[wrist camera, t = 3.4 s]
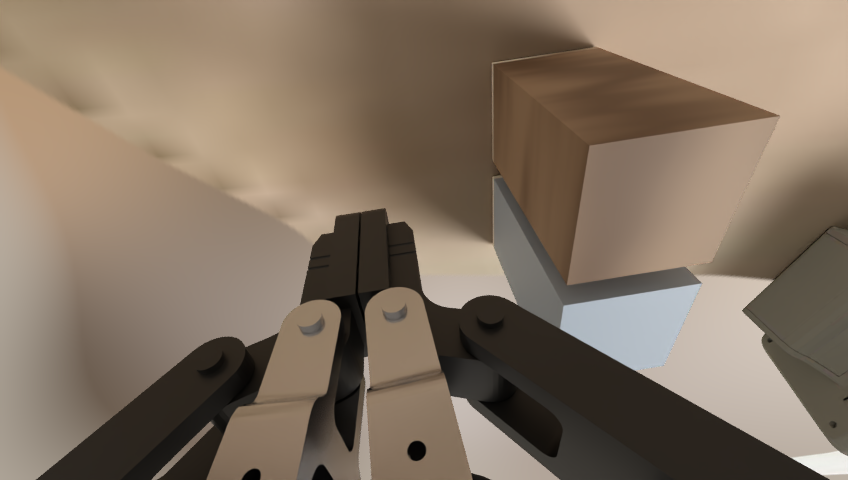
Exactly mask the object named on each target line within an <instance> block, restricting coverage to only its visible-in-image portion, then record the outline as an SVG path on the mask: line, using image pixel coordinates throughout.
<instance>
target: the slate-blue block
mask: <svg viewBox="0 0 848 480" xmlns="http://www.w3.org/2000/svg"><path fill="white" fill-rule="evenodd" d="M492 186H493V247H494V249H495V251H496V254H497V256H498V259H499V261H500V263H501V266H502V268H503V271H504V273H505V275H506V278H507V280H508V282H509V285H510V287H511V290H512V292H513V294H514V297H515V299H516V301H517V304H518V306H520V307H522V308H524V309H525V310H527V311H529V312H531V313H533V314H534V315H536V316H538V317H540V318H542V319H543V320H545V321H547V322H549V323H550V324H552V325H554V326H556V327H558V328H559V329H561V330H563V331H565V332H567V333H568V334H570V335H572V336H574V337H576V338H577V339H579V340H581V341H583V342H584V343H586V344H588V345H590V346H592V347H593V348H595V349H597V350H599V351H601V352H602V353H604V354H606V355H608V356H609V357H611V358H613V359H615V360H617V361H618V362H620V363H622V364H624V365H626V366H627V367H629V368H631V369H633V370H641V369H647V368H653V367H659V366H664V364H665V362H666V360H667V358H668V355H669V353H670V351H671V349H672V347H673V345H674V342H675V340H676V338H677V336H678V334H679V332H680V330H681V327H682V325H683V323H684V321H685V319H686V317H687V315H688V313H689V310H690V308H691V306H692V304H693V302H694V299H695V298H696V295H697V293H698V291H699V289H700V287H701V285H702V283H701V282H700V281H699V280H698V279H697V278H696V277H695V276H694V275H693V274H692V273H691V272H690V271H689V270H688V269H687V268H686V267H679V268H673V269H667V270H660V271H654V272H648V273H642V274H635V275H629V276H623V277H617V278H610V279H604V280H598V281H592V282H586V283H579V284H573V285H566V283H565V281H564V280H563V278H562V276H561V275H560V273H559V271H558V270H557V268H556V266H555V265H554V263H553V261H552V260H551V258H550V256H549V255H548V253H547V251H546V250H545V248H544V246H543V245H542V243H541V241H540V239H539V238H538V236H537V234H536V233H535V231H534V229H533V228H532V226H531V224H530V223H529V221H528V219H527V218H526V216H525V214H524V213H523V211H522V209H521V208H520V206H519V204H518V202H517V201H516V199H515V197H514V196H513V194H512V192H511V191H510V189H509V187H508V186H507V184H506V182H505V181H504V179H503V177H502V176H501V175H498V176H492Z"/></svg>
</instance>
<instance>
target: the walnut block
mask: <svg viewBox="0 0 848 480" xmlns="http://www.w3.org/2000/svg"><path fill="white" fill-rule="evenodd" d="M779 118H780V116H779V115H776V114H774V113H771V112H768V111H766V110H763V109H760V108H758V107H755V106H752V105H750V104H747V103H744V102H742V101H739V100H736V99H734V98H731V97H728V96H726V95H723V94H720V93H718V92H715V91H712V90H710V89H707V88H704V87H702V86H699V85H696V84H694V83H691V82H688V81H686V80H683V79H680V78H678V77H675V76H672V75H670V74H667V73H664V72H662V71H659V70H656V69H654V68H651V67H648V66H646V65H643V64H640V63H638V62H635V61H632V60H630V59H627V58H624V57H622V56H619V55H616V54H614V53H611V52H609V51H606V50H603V49H601V48H598V47H591V48H585V49H578V50H572V51H565V52H558V53H552V54H545V55H539V56H532V57H526V58H519V59H512V60H506V61H499V62H493V63H492V160H493V162H494V164H495V166H496V167H497V169H498V171H499V172H500V174H501V176H502V177H503V179H504V181H505V182H506V184H507V186H508V187H509V189H510V191H511V192H512V194H513V196H514V197H515V199H516V201H517V202H518V204H519V206H520V208H521V209H522V211H523V213H524V214H525V216H526V218H527V219H528V221H529V223H530V224H531V226H532V228H533V229H534V231H535V233H536V234H537V236H538V238H539V239H540V241H541V243H542V245H543V246H544V248H545V250H546V251H547V253H548V255H549V256H550V258H551V260H552V261H553V263H554V265H555V266H556V268H557V270H558V271H559V273H560V275H561V276H562V278H563V280H564V281H565V283H566V285H573V284H579V283H586V282H592V281H598V280H604V279H610V278H617V277H623V276H629V275H635V274H642V273H648V272H654V271H660V270H667V269H673V268H679V267H685V266H691V265H698V264H704V263H710V262H712V261H713V259H714V257H715V255H716V252H717V250H718V248H719V246H720V244H721V242H722V240H723V237H724V235H725V233H726V231H727V229H728V227H729V225H730V222H731V220H732V218H733V216H734V214H735V212H736V210H737V207H738V205H739V203H740V201H741V199H742V197H743V195H744V192H745V190H746V188H747V186H748V184H749V182H750V180H751V178H752V175H753V173H754V171H755V169H756V167H757V165H758V163H759V160H760V158H761V156H762V154H763V152H764V150H765V148H766V145H767V143H768V141H769V139H770V137H771V135H772V133H773V130H774V128H775V126H776V124H777V122H778V120H779Z"/></svg>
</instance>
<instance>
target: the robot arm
mask: <svg viewBox="0 0 848 480" xmlns="http://www.w3.org/2000/svg"><path fill="white" fill-rule="evenodd" d="M367 356H368V360H369V371H370V372H369V373H370V388H369V389H367V396H366V398H367V415H368V431H369V446H370V460H371V476H372V480H490V479H488V478H486V477H483V476H480V475H476V474H473V473H471V471H470V468H469V464H468V460H467V456H466V453H465V449H464V445H463V442H462V438H461V434H460V430H459V426H458V423H457V419H456V415H455V412H454V408H453V404H452V400H451V396H454V397H460V398H466V399H467V400H468V402H469V403H470V405H471V406H472V407H473V408H475V409H476V410H477V411H478V412H479V413H481V414H482V415H483V416H484V417H485V418H487V419H488V420H489V421H490V422H492V423H493V424H494V425H495V426H496V427H497V428H499V429H500V430H501V431H502V432H503V433H505V434H506V435H507V436H508V437H509V438H511V439H512V440H513V441H514V442H515V443H517V444H518V445H519V446H520V447H521V448H523V449H524V450H525V451H526V452H528V453H529V454H530V455H531V456H532V457H534V458H535V459H536V460H537V461H538V462H540V463H541V464H542V465H543V466H544V467H546V468H547V469H548V470H549V471H550V472H552V473H553V474H554V475H555V476H556V477H558V478H559V479H560V480H829V479H828V478H826V477H824V476H822V475H820V474H819V473H817V472H815V471H813V470H812V469H810V468H808V467H806V466H804V465H803V464H801V463H799V462H797V461H795V460H794V459H792V458H790V457H788V456H787V455H785V454H783V453H781V452H779V451H778V450H775V449H774V448H772V447H770V446H769V445H767V444H765V443H763V442H761V441H760V440H758V439H756V438H754V437H752V436H751V435H749V434H747V433H745V432H744V431H742V430H740V429H738V428H736V427H735V426H733V425H731V424H729V423H727V422H726V421H724V420H722V419H720V418H719V417H717V416H715V415H713V414H711V413H709V412H708V411H706V410H704V409H702V408H701V407H699V406H697V405H695V404H693V403H692V402H690V401H688V400H686V399H684V398H683V397H681V396H679V395H677V394H675V393H674V392H672V391H670V390H668V389H667V388H665V387H663V386H661V385H660V384H658V383H656V382H654V381H652V380H650V379H649V378H647V377H645V376H643V375H642V374H640V373H638V372H636V371H635V370H633V369H631V368H629V367H627V366H626V365H624V364H622V363H620V362H618V361H617V360H615V359H613V358H611V357H609V356H608V355H606V354H604V353H602V352H601V351H599V350H597V349H595V348H593V347H592V346H590V345H588V344H586V343H584V342H583V341H581V340H579V339H577V338H576V337H574V336H572V335H570V334H568V333H567V332H565V331H563V330H561V329H559V328H558V327H556V326H554V325H552V324H550V323H549V322H547V321H545V320H543V319H542V318H540V317H538V316H536V315H534V314H533V313H531V312H529V311H527V310H525V309H524V308H522V307H520V306H518V305H516V304H515V303H513V302H511V301H509V300H507V299H505V298H502V297H499V296H492V295H487V296H480V297H476V298H474V299H472V300H470V301H468V302H467V303H466V304H465V305H464V306H463V307H462V309H456V308H447V307H442V306H439V305H437V304H434V303H433V302H431V301H430V300H429V299H428V298H427V297H426V296H425V295H424V293H423V291H422V286H421V280H420V273H419V267H418V260H417V254H416V248H415V242H414V235H413V230H412V229H411V228H410V227H409V226H408V225H407V224H406V223H405V222H398V223H392V224H389V222H388V217H387V212H386V209H385V208H384V209H377V210H371V211H365V212H362V213H360V212H359V213H352V214H346V215H339V216H336V219H335V226H334V233H329V234H322V235H321V236H320V237H319V239H318V240H317V241H316V242H315V244H314V245H313V247H312V252H311V256H310V261H309V266H308V271H307V276H306V280H305V284H304V289H303V294H302V298H301V303H300V306H298V307H297V308H295V309H294V310H292V311H291V312H290V313H289V314H288V315H287V316H286V318H285V319H284V321H283V323H282V325H281V329H280V331H279V333H277V334H275V335H273V336H271V337H269V338H267V339H264V340H262V341H260V342H257V343H255V344H252V345H250V346H248V347H245V346H244V344H243V343H242V341H240V340H239V339H237V338H234V337H220V338H216V339H213V340H211V341H209V342H207V343H204V344H203V345H201V346H200V347H198V348H197V349H195V350H194V351H193V352H192V353H190V354H189V355H188V356H187V357H185V358H184V359H183V360H182V361H181V362H179V363H178V364H177V365H176V366H174V367H173V368H172V369H171V370H170V371H168V372H167V373H166V374H165V375H164V376H162V377H161V378H160V379H159V380H157V381H156V382H155V383H154V384H152V385H151V386H150V387H149V388H148V389H146V390H145V391H144V392H143V393H141V394H140V395H139V396H138V397H137V398H135V399H134V400H133V401H132V402H130V403H129V404H128V405H127V406H126V407H124V408H123V409H122V410H121V411H119V412H118V413H117V414H116V415H115V416H113V417H112V418H111V419H110V420H109V421H107V422H106V423H105V424H104V425H102V426H101V427H100V428H99V429H97V430H96V431H95V432H94V433H93V434H91V435H90V436H89V437H88V438H87V439H85V440H84V441H83V442H82V443H80V444H79V445H78V446H77V447H76V448H74V449H73V450H72V451H71V452H69V453H68V454H67V455H66V456H65V457H63V458H62V459H61V460H60V461H58V462H57V463H56V464H55V465H53V466H52V467H51V468H50V469H49V470H47V471H46V472H45V473H44V474H43V475H41V476H40V477H39V478H38V479H36V480H152V478H153V477H154V476H155V475H156V474H157V473H158V472H159V471H160V470H161V469H162V468H163V467H164V466H165V465H166V464H167V463H168V462H169V461H170V460H171V459H172V458H173V457H174V456H175V455H176V454H177V453H178V452H179V451H180V450H181V449H182V448H183V447H184V446H185V445H186V444H187V443H188V442H189V441H190V440H191V439H192V438H193V437H194V436H195V435H196V434H197V433H199V432H200V430H202V429H203V428H204V427H205V426H206V425H207V424H208V423H209V422H210V421H211V422H212V424H213V425H214V426H213V427H212V428H211V429H210V430H209V431H208V432H207V433H206V434H205V435H204V436H203V437H202V438H201V439H200V440H199V441H198V442H197V443H196V444H195V445H194V446H193V447H192V448H191V449H190V450H189V451H188V452H187V453H186V454H185V455H184V456H183V457H182V458H181V459H180V460H179V461H178V462H177V463H176V464H175V465H174V466H173V467H172V468H171V469H170V470H169V471H168V472H167V473H166V474H165V475H164V476H162V477H161V478H159V479H157V480H361V477H360V470H359V447H360V436H361V426H362V416H363V405H364V394H365V378H364V375H363V373H364V357H367Z"/></svg>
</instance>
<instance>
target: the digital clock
mask: <svg viewBox="0 0 848 480" xmlns="http://www.w3.org/2000/svg"><path fill="white" fill-rule="evenodd" d="M742 311H743V312H744V313H745V314H746V315H747V316H748V317H749V318H750V319H751V320H752V321H753V322H754V323H755V324H756V325H757V326H758V327H759V328H760V329H761V330H762V331H764V332H765V335H764V336H763V337H762V344H763V347H764V349H765V351H766V353H767V354H768V356H769V357H770V358H771V360H772V361H773V362H774V364H775V366H776V367H777V368H778V370H779V371H780V373H781V374H782V375H783V377H784V378H785V379H786V381H787V383H788V384H789V385H790V387H791V388H792V390H793V391H794V393H795V394H796V396H797V397H798V398H799V399H800V401H801V403H802V404H803V406H804V407H805V408H806V410H807V411H808V413H809V414H810V415H811V417H812V418H813V420H814V421H815V422H816V424H817V426H818V427H819V428H820V430H821V431H822V432H823V434H824V435H825V436H826V438H827V439H828V441H829V442H830V443H831V444H832V445H833V446H834V447H835V448H836V449H837V450H838V451H840V452H841V453H843V454H845V455H847V456H848V230H847V229H842V228H838V227H831V228H829V229H828V230H827V231H826V232H825V233H824V234H823V235H822V236H821V237H820V238H819V239H818V240H817V241H816V242H815V243H813V244H812V245H811V246H810V247H809V248H808V249H807V250H806V251H805V252H804V253H803V254H802V255H801V256H800V257H799V258H797V259H796V260H795V261H794V262H793V263H792V264H791V265H790V266H789V267H788V268H787V269H786V270H785V271H784V272H782V273H781V274H780V275H779V276H778V277H777V278H776V279H775V280H774V281H773V282H772V283H771V284H770V285H769V286H768V287H767V288H765V289H764V290H763V291H762V292H761V293H760V294H759V295H758V296H757V297H756V298H755V299H754V300H753V301H752V302H750V303H749V304H748V305H747V306H746V307H745V308H744V309H743V310H742Z"/></svg>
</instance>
